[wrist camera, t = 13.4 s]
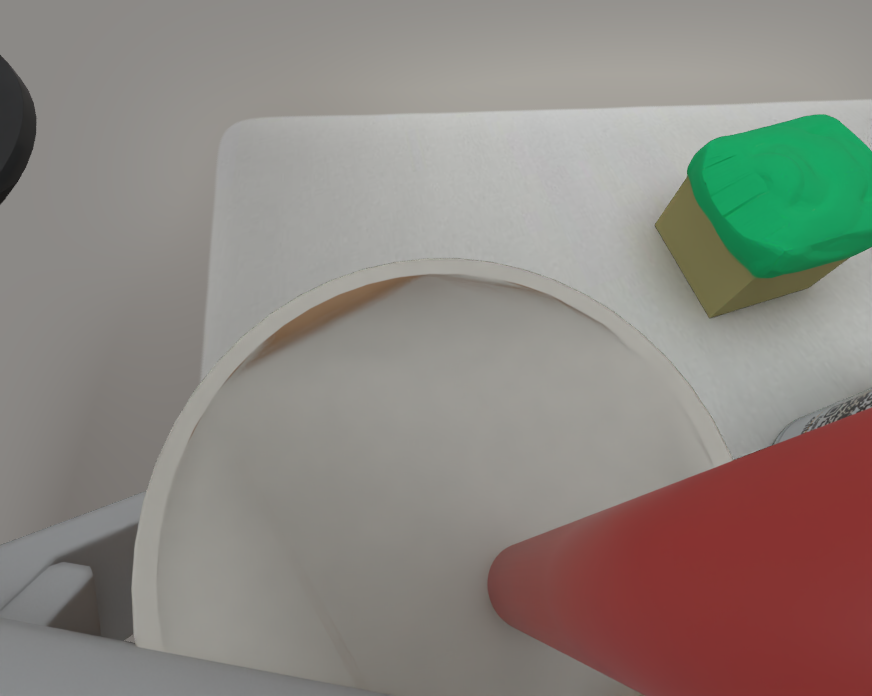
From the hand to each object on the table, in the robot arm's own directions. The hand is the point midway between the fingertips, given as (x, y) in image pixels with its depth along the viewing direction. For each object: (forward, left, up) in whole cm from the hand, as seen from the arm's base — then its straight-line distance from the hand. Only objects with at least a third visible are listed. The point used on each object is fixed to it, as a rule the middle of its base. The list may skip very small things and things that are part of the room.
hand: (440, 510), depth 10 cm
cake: (+3, +30, -22) cm, 37 cm away
